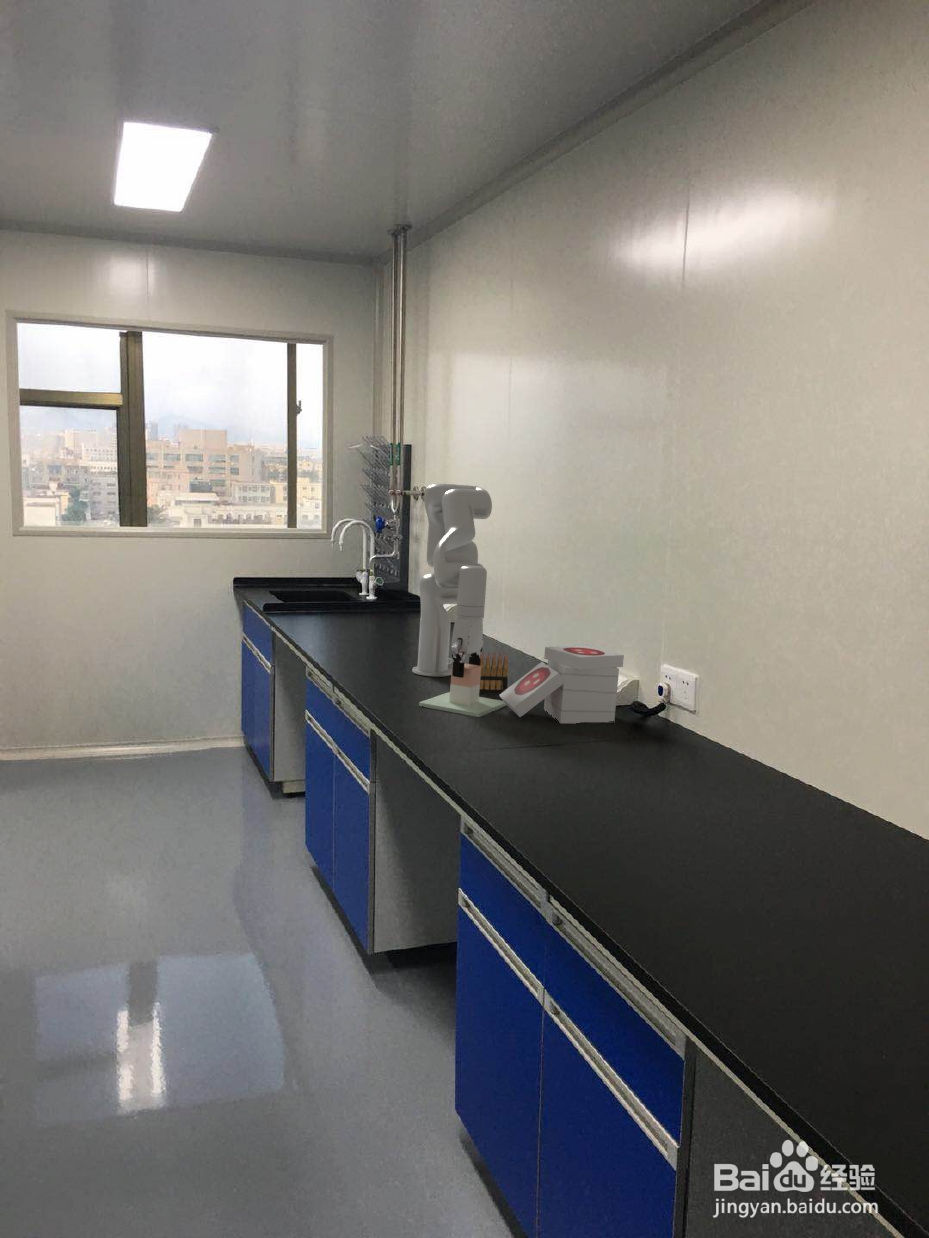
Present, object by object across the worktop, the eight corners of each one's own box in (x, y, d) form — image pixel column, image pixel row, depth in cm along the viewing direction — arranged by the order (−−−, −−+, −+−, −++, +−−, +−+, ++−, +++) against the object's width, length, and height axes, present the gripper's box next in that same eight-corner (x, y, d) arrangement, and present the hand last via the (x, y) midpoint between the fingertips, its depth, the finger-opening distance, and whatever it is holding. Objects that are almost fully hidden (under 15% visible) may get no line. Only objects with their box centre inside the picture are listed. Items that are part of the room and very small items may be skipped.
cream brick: (458, 698, 273) (460, 680, 272) (478, 701, 270) (479, 683, 269) (449, 702, 267) (450, 684, 267) (469, 705, 265) (470, 687, 264)
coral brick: (460, 680, 272) (461, 662, 271) (480, 683, 269) (481, 666, 269) (450, 684, 267) (451, 665, 266) (470, 687, 264) (471, 669, 263)
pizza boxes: (496, 707, 270) (501, 642, 267) (599, 708, 276) (605, 645, 274) (514, 725, 251) (520, 655, 249) (625, 726, 258) (631, 658, 255)
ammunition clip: (505, 692, 289) (508, 652, 288) (507, 693, 288) (510, 653, 286) (470, 691, 287) (472, 651, 286) (471, 693, 285) (474, 652, 284)
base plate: (450, 695, 281) (450, 691, 281) (507, 705, 273) (507, 701, 273) (418, 705, 265) (419, 702, 265) (478, 717, 257) (479, 713, 257)
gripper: (472, 607, 274) (467, 667, 277) (442, 612, 259) (438, 676, 262) (496, 610, 271) (492, 671, 274) (468, 616, 256) (463, 681, 258)
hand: (466, 674), depth 268 cm, fingers open, 9 cm apart
